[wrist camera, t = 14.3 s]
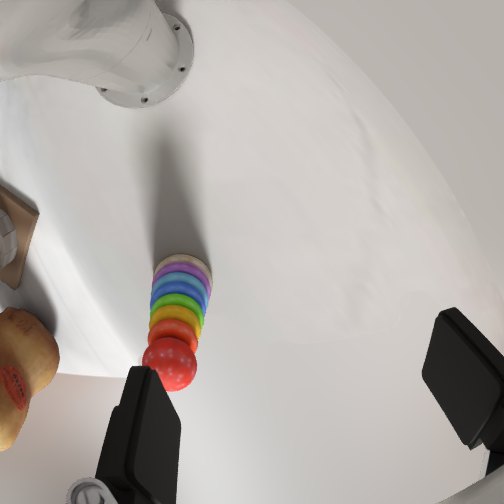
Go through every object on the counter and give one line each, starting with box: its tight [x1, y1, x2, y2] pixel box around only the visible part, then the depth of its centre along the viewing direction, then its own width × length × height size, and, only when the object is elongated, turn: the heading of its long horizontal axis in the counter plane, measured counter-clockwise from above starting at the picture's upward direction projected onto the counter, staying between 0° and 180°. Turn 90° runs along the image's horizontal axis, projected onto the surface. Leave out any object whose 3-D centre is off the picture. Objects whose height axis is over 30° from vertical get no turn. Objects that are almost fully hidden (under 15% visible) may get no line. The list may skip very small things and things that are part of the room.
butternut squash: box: [0, 307, 60, 451], centre depth 31 cm, size 14×13×25 cm
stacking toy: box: [142, 254, 213, 391], centre depth 33 cm, size 8×8×19 cm
